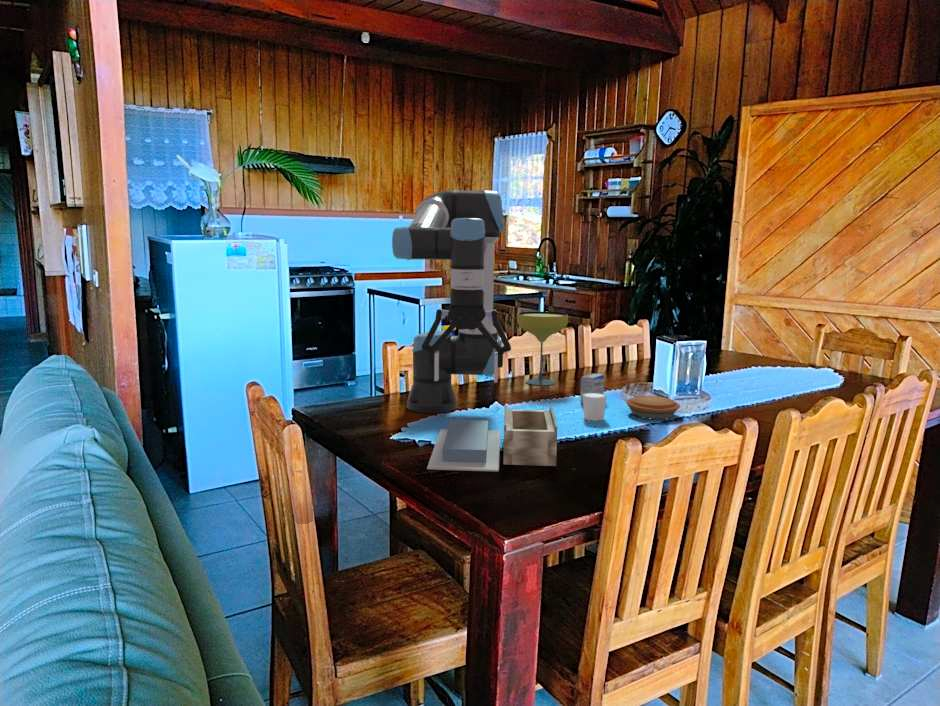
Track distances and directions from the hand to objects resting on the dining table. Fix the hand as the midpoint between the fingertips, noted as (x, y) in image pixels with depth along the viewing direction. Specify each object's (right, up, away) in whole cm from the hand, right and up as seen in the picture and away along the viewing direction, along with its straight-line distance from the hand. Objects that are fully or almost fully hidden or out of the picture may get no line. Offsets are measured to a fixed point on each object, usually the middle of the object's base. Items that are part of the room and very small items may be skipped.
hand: (466, 380), depth 157 cm
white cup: (+37, -13, +42) cm, 57 cm away
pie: (+55, -12, +47) cm, 73 cm away
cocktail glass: (+26, -5, +90) cm, 94 cm away
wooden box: (+15, -18, +9) cm, 25 cm away
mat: (0, -17, +11) cm, 20 cm away
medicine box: (+40, -9, +62) cm, 74 cm away
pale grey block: (0, -16, +12) cm, 21 cm away
